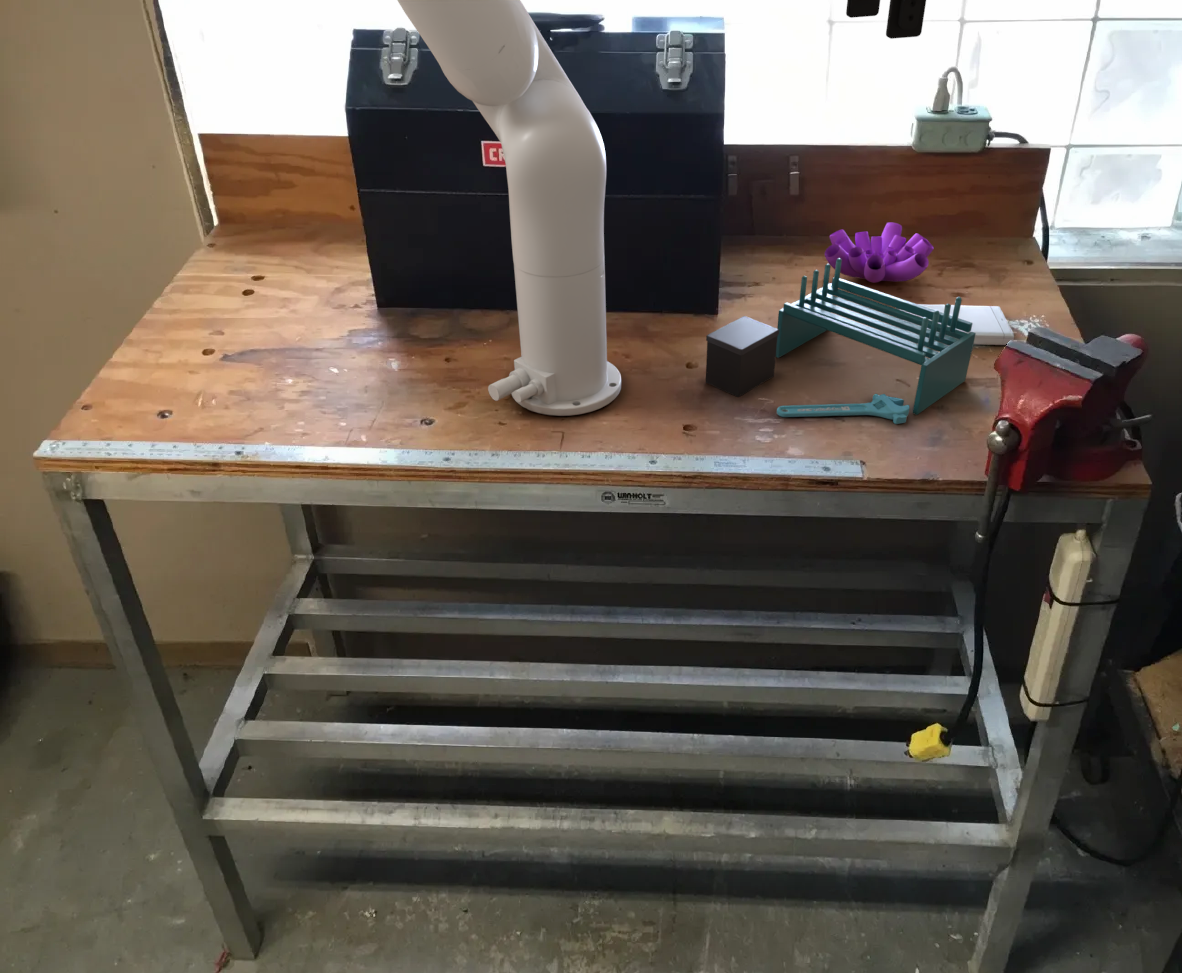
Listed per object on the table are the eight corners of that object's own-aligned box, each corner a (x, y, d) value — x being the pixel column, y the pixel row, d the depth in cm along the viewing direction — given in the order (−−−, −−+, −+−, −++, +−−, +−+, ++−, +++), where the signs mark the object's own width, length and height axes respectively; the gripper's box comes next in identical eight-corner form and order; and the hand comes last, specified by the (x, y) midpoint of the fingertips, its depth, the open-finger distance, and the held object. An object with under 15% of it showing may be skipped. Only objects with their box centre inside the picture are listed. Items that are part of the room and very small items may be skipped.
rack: (917, 415, 105) (933, 328, 99) (774, 356, 117) (781, 275, 110) (965, 380, 111) (983, 297, 105) (824, 327, 122) (834, 249, 116)
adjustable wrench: (903, 391, 107) (915, 415, 103) (901, 399, 108) (913, 423, 104) (774, 394, 107) (781, 419, 103) (773, 402, 108) (780, 426, 104)
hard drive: (906, 332, 117) (1015, 334, 116) (896, 302, 124) (999, 303, 122) (904, 344, 118) (1012, 346, 117) (894, 314, 124) (996, 315, 123)
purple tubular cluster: (925, 299, 135) (958, 263, 126) (823, 313, 132) (849, 277, 123) (901, 227, 138) (932, 187, 129) (801, 240, 135) (825, 200, 126)
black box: (738, 398, 109) (741, 349, 106) (704, 382, 112) (706, 335, 109) (775, 376, 113) (779, 329, 109) (741, 361, 116) (744, 315, 112)
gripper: (830, -192, 91) (812, 11, 101) (910, -186, 77) (880, 49, 87) (908, -196, 92) (882, 6, 102) (1000, -191, 78) (960, 42, 88)
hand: (881, 25), depth 94 cm, fingers open, 9 cm apart
